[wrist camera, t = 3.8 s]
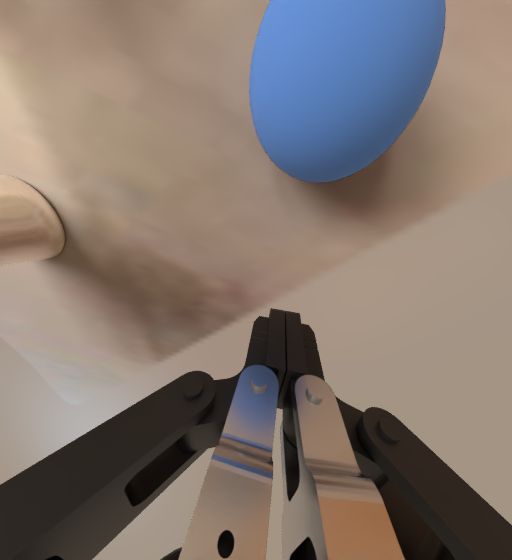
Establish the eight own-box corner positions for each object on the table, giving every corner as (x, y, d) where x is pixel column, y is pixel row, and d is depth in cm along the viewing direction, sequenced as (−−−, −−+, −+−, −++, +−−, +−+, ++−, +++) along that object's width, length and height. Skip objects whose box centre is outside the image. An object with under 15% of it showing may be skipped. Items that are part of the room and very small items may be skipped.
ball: (268, 22, 8) (243, -255, 3) (406, 35, 8) (645, -251, 3) (252, 175, 11) (225, 168, 6) (355, 189, 11) (425, 194, 6)
